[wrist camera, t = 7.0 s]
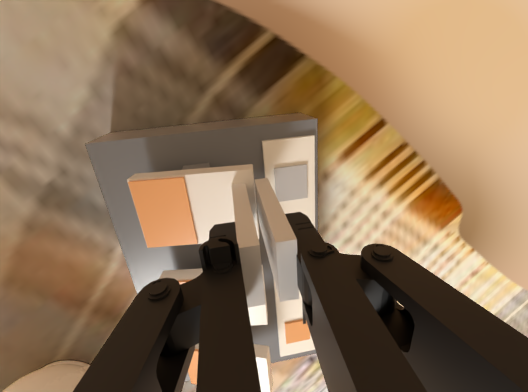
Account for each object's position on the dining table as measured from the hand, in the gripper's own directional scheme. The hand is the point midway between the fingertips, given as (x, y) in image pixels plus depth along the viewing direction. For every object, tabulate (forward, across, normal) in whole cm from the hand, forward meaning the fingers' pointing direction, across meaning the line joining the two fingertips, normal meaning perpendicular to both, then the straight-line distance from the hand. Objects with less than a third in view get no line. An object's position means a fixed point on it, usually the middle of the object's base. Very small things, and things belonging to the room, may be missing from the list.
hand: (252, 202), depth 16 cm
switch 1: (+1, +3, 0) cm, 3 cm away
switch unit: (+7, +2, +7) cm, 10 cm away
